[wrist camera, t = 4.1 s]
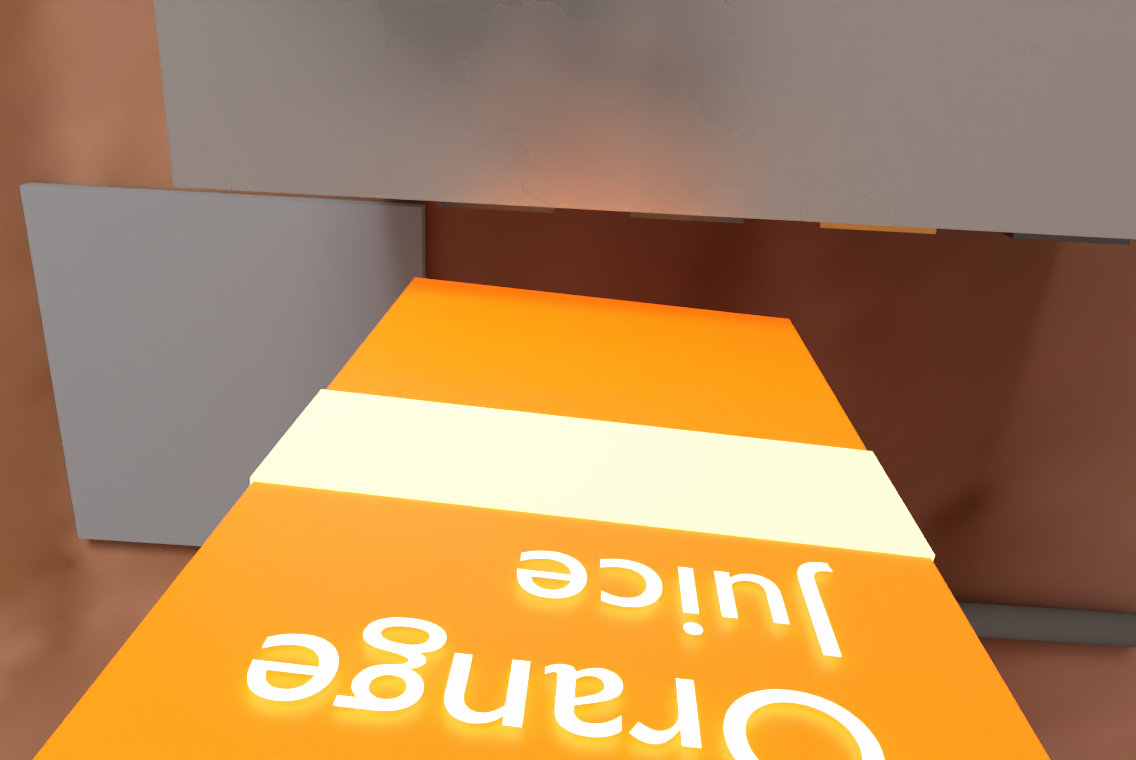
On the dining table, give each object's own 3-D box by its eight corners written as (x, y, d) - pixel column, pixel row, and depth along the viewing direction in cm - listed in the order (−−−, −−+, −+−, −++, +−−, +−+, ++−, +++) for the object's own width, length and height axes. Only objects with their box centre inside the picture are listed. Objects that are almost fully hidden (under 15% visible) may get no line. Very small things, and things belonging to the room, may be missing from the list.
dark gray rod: (707, 579, 33) (711, 597, 32) (1141, 607, 33) (1160, 626, 32) (704, 606, 34) (707, 625, 33) (1132, 634, 33) (1151, 654, 32)
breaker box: (371, -92, 26) (128, -234, 13) (1137, -57, 25) (1697, -167, 12) (377, 147, 28) (178, 233, 15) (1078, 185, 28) (1495, 307, 15)
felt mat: (30, 182, 29) (19, 185, 29) (425, 203, 29) (421, 206, 28) (87, 530, 34) (78, 538, 33) (428, 552, 34) (425, 560, 33)
